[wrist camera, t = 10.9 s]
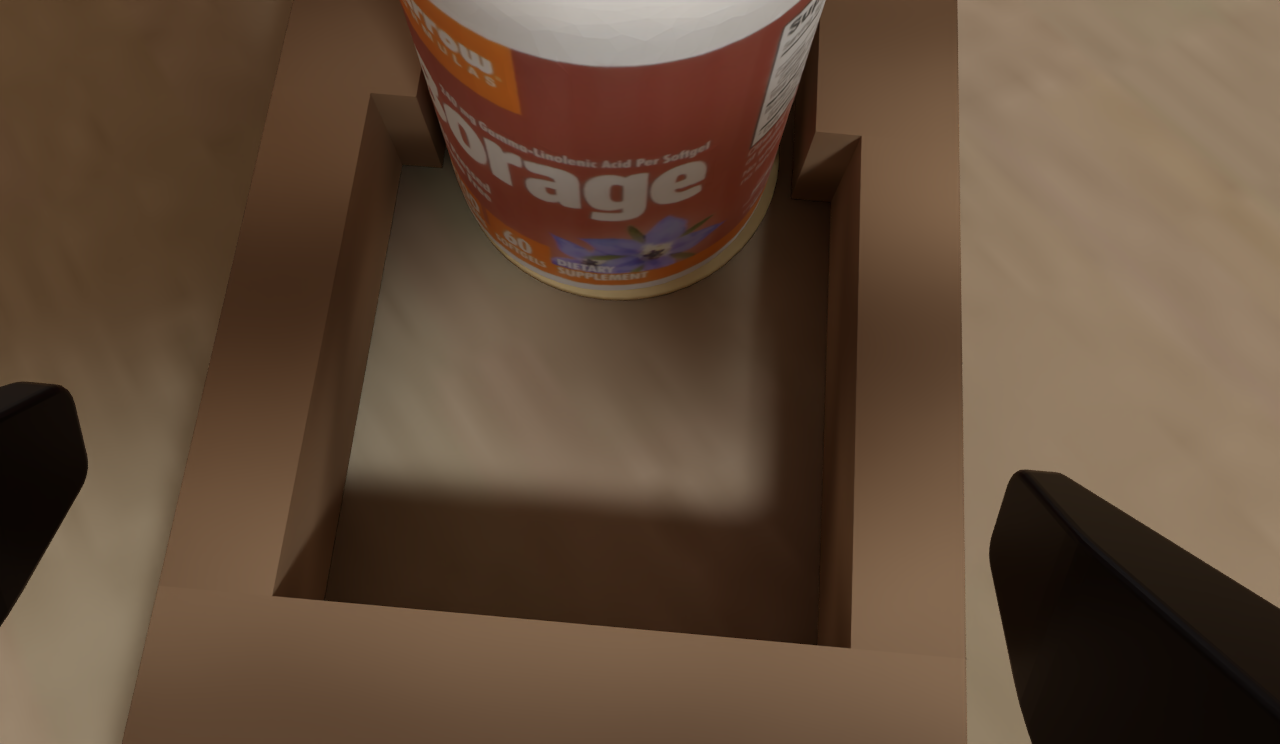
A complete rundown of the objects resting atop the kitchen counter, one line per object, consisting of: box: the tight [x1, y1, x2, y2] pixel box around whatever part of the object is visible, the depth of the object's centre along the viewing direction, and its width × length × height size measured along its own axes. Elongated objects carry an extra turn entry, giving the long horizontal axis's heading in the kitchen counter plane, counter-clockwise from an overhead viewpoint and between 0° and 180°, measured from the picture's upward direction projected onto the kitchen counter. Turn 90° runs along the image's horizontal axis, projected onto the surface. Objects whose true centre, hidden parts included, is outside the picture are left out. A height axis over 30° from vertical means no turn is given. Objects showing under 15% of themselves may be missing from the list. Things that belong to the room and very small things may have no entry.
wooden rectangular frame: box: [122, 0, 967, 744], centre depth 16 cm, size 20×12×2 cm, turn 175°
